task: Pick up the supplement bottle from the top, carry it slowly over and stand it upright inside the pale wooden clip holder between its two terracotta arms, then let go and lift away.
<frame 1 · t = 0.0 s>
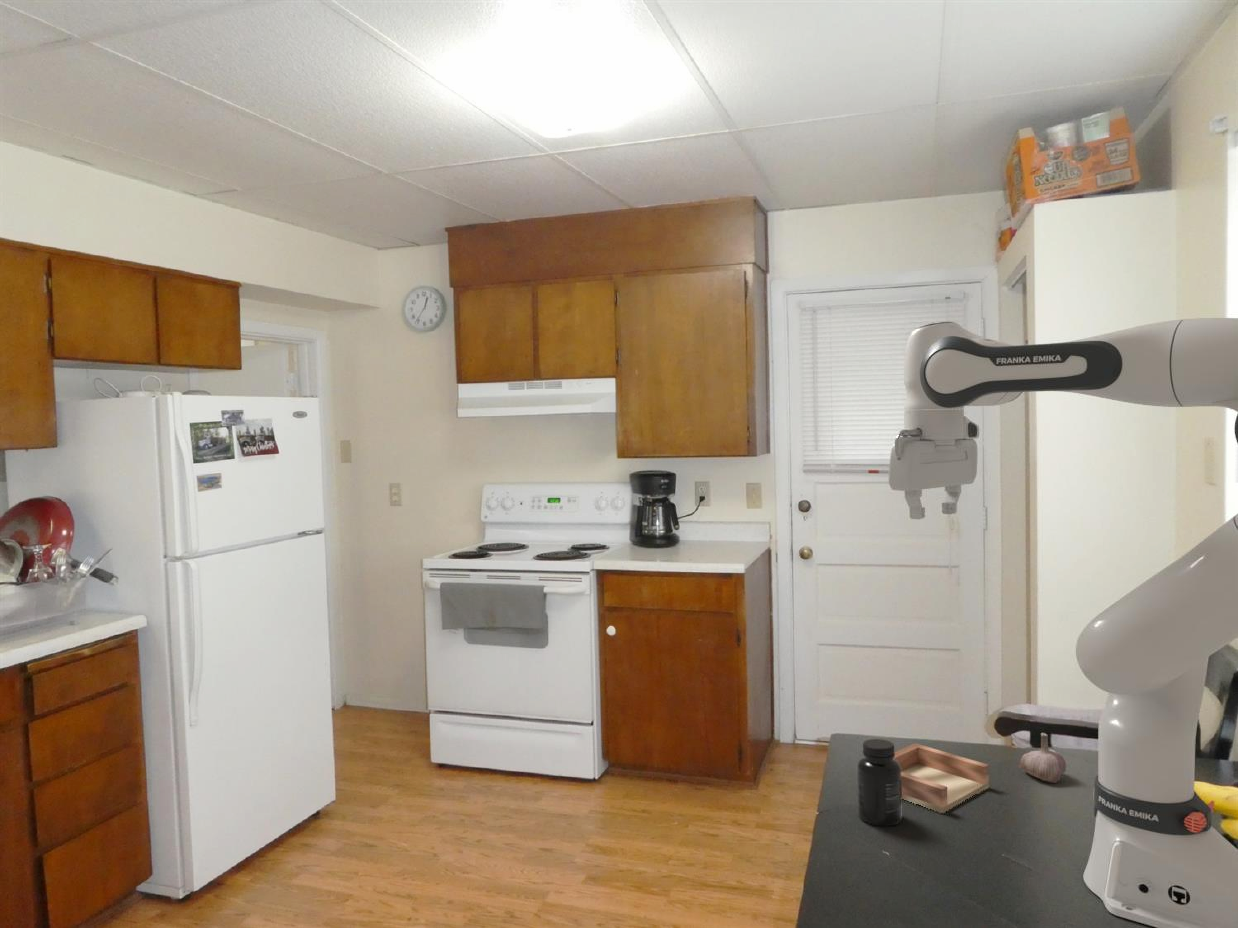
hand: (933, 516, 141), 48 cm above the table, tool pointing down, fingers open, 8 cm apart
clip holder: (927, 787, 154), on the table
supplement bottle: (879, 819, 142), on the table
garlic bulb: (1042, 778, 157), on the table
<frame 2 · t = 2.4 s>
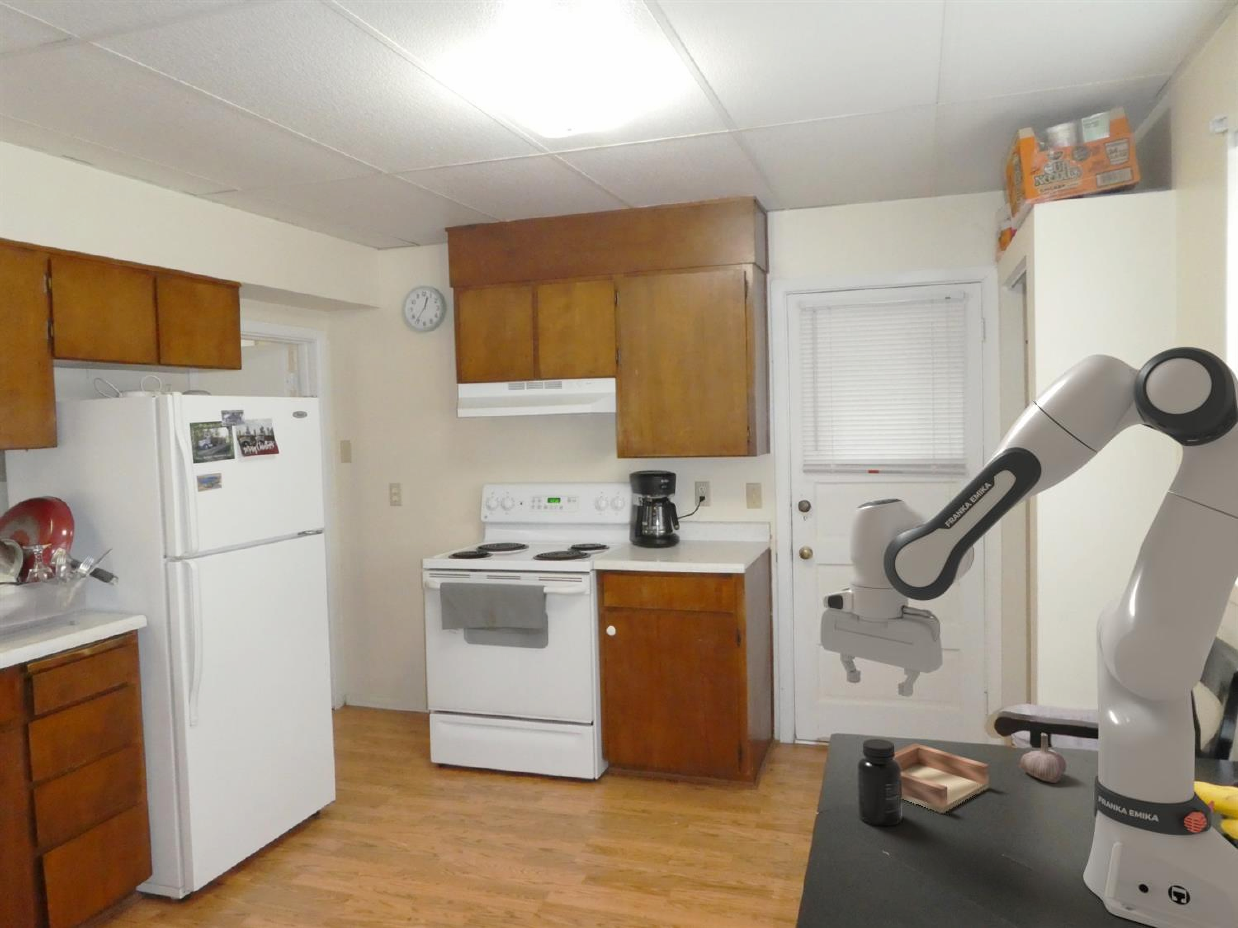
hand: (878, 688, 141), 21 cm above the table, tool pointing down, fingers open, 8 cm apart
nothing on the table moved.
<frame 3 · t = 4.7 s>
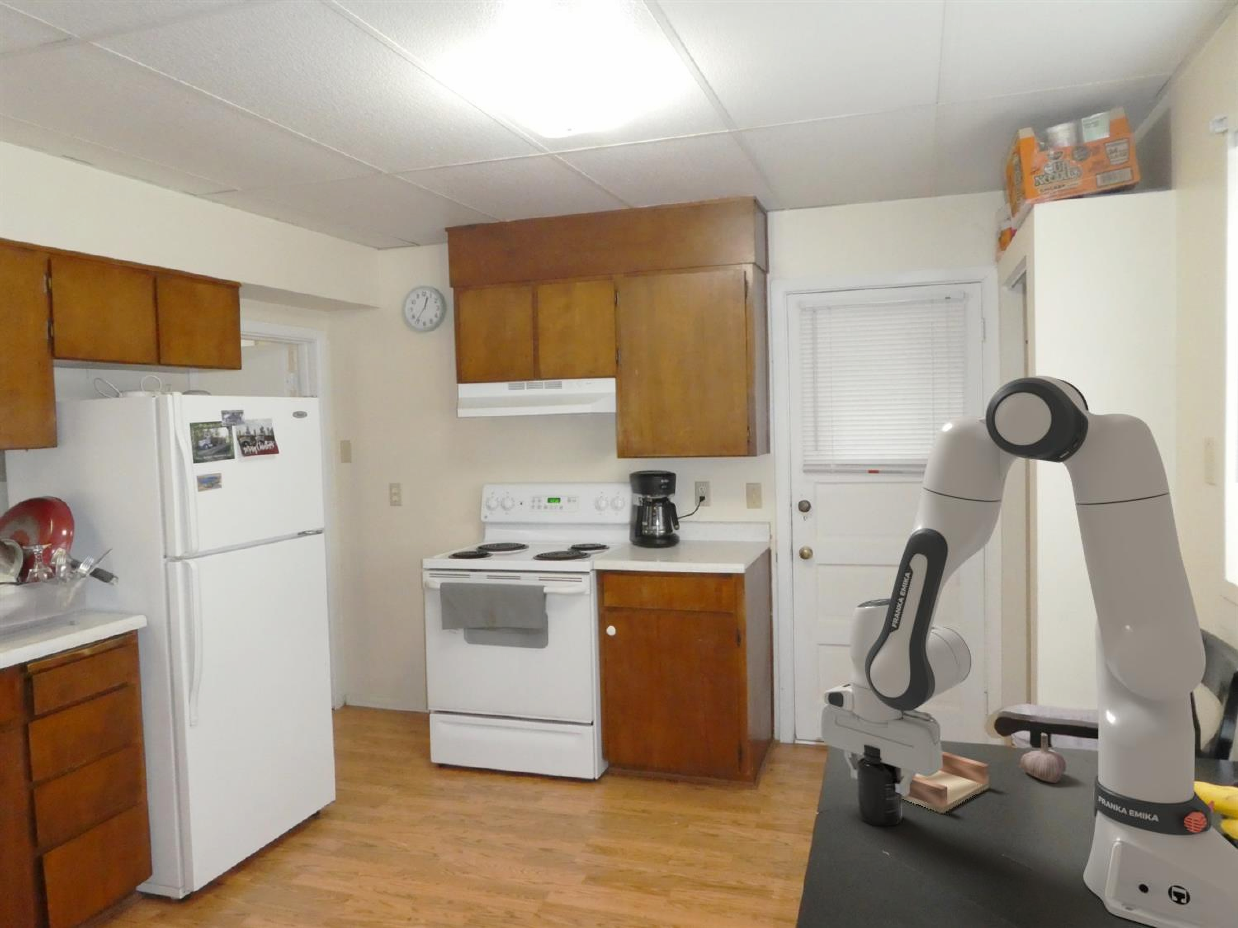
hand: (879, 786, 142), 5 cm above the table, tool pointing down, fingers closed on supplement bottle, 7 cm apart
supplement bottle: (879, 819, 142), on the table, touching gripper
everything else where it was.
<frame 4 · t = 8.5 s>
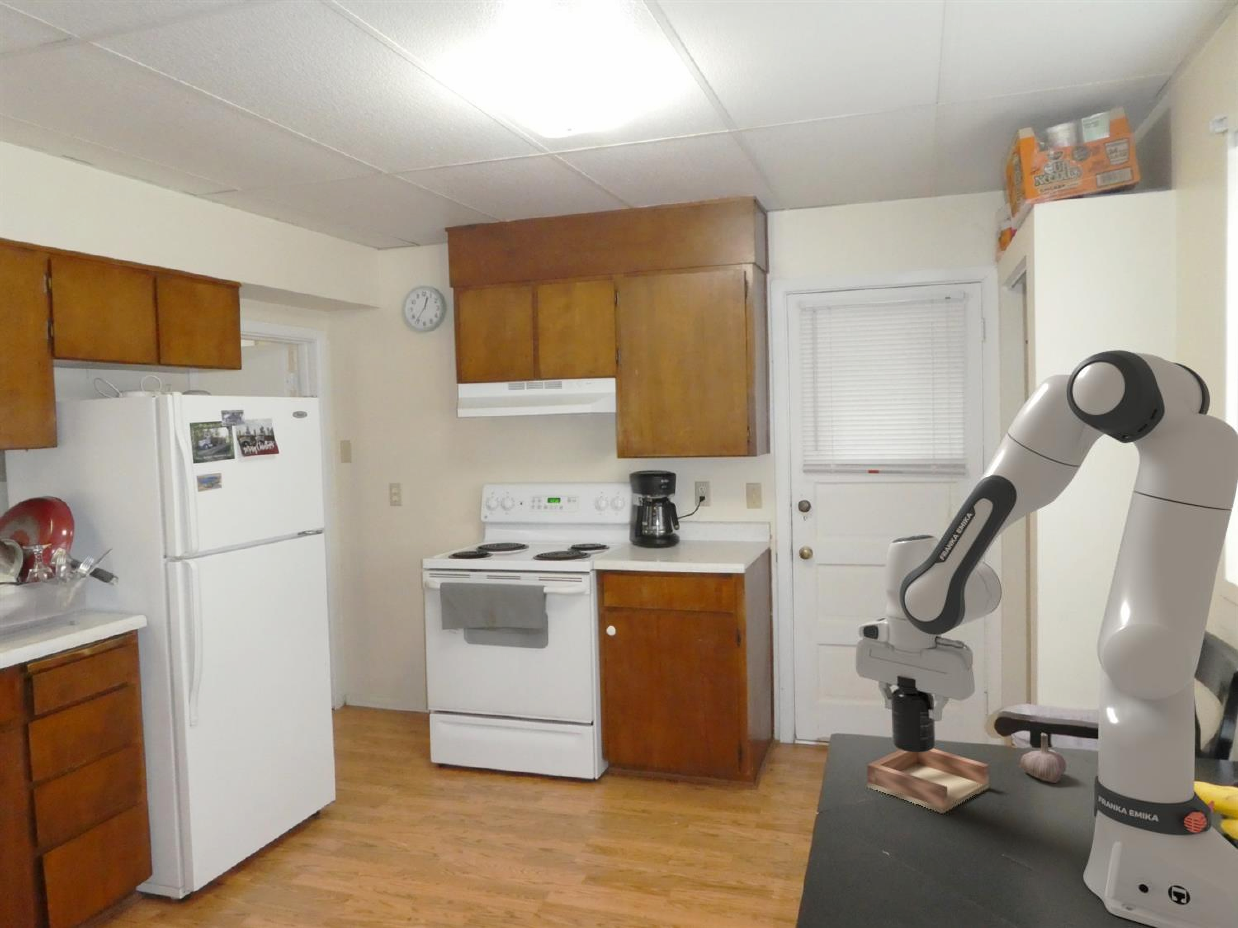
hand: (912, 714, 149), 14 cm above the table, tool pointing down, fingers closed on supplement bottle, 7 cm apart
supplement bottle: (913, 747, 150), point 8 cm above the table, touching gripper
everything else where it was.
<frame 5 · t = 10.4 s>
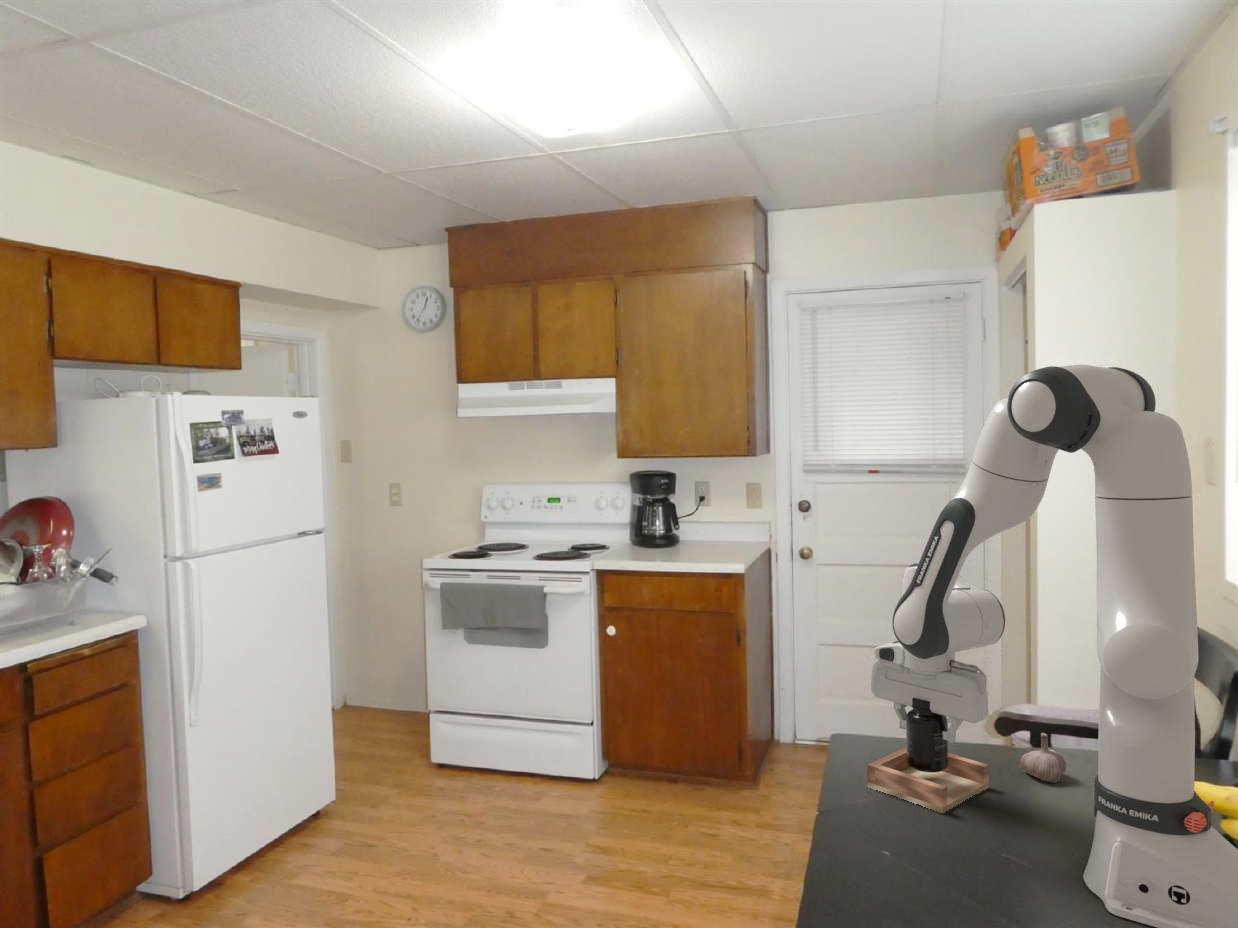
hand: (926, 734, 153), 9 cm above the table, tool pointing down, fingers closed on supplement bottle, 7 cm apart
supplement bottle: (927, 766, 153), point 4 cm above the table, touching gripper
everything else where it was.
when the fingers open (7 cm above the table, at t = 11.9 s): supplement bottle stays where it is, resting on clip holder.
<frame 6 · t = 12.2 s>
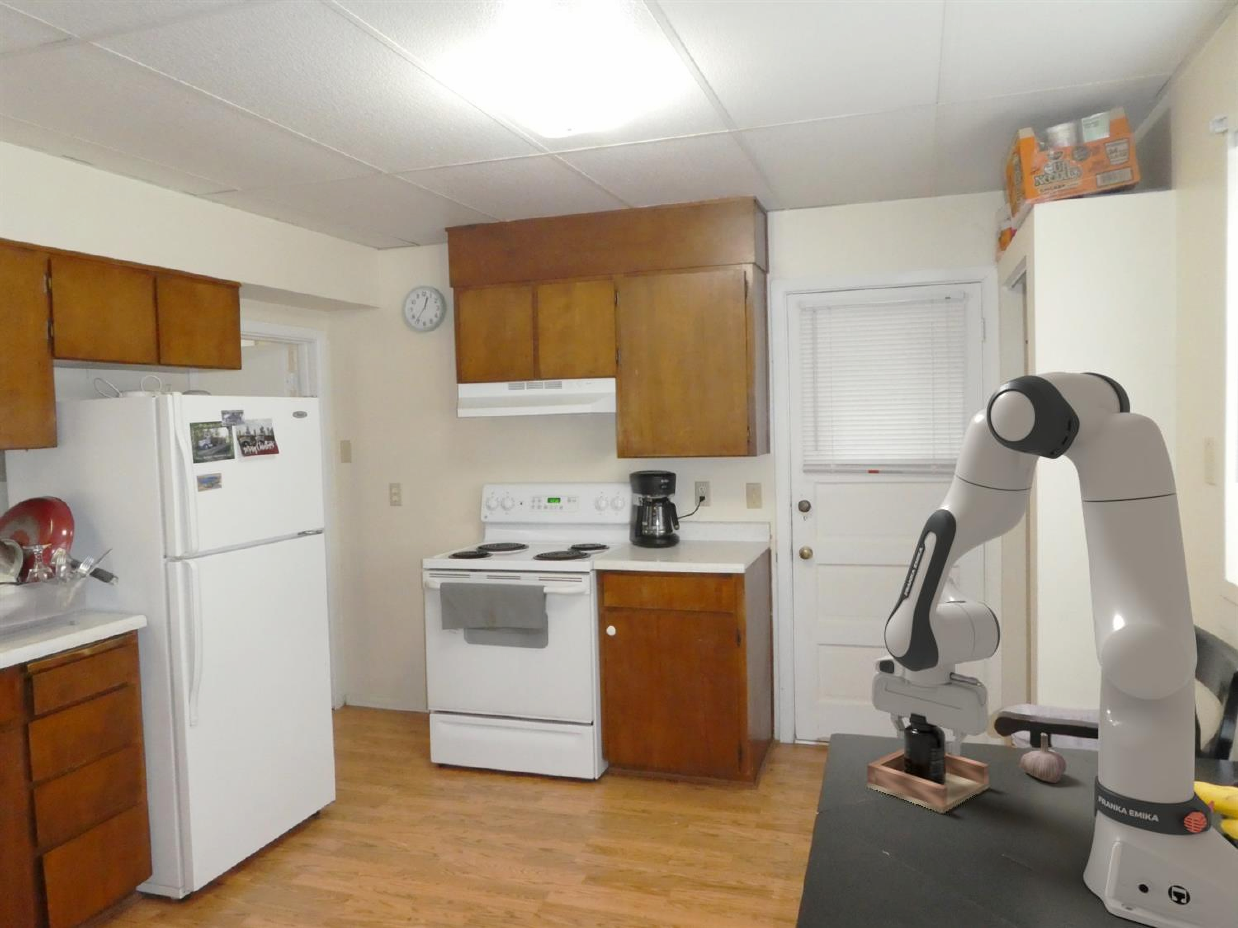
hand: (927, 747, 153), 7 cm above the table, tool pointing down, fingers open, 8 cm apart
supplement bottle: (924, 782, 154), point 1 cm above the table, touching clip holder, gripper
everything else where it was.
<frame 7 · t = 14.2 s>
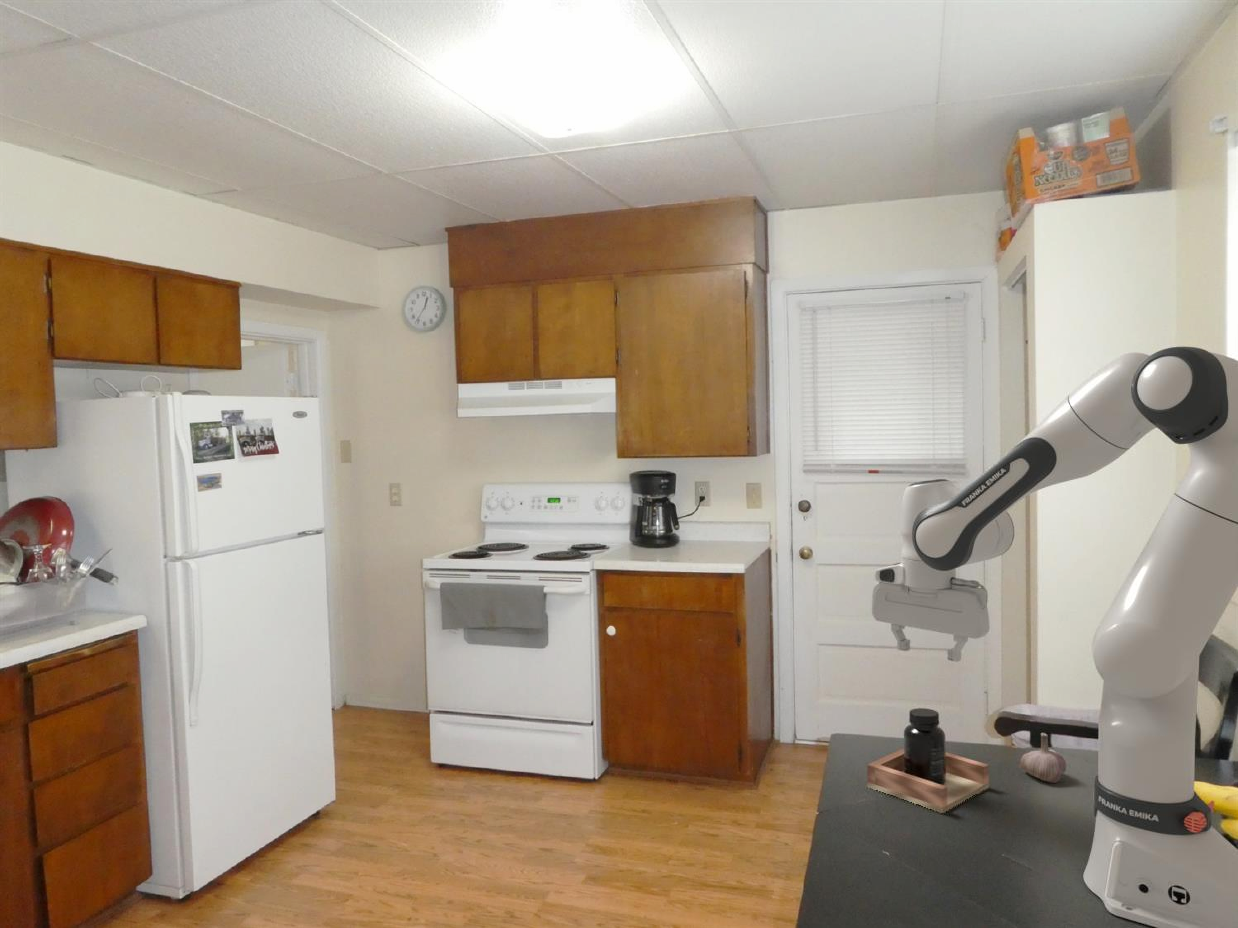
hand: (928, 655, 152), 23 cm above the table, tool pointing down, fingers open, 8 cm apart
supplement bottle: (924, 782, 154), point 1 cm above the table, touching clip holder
everything else where it was.
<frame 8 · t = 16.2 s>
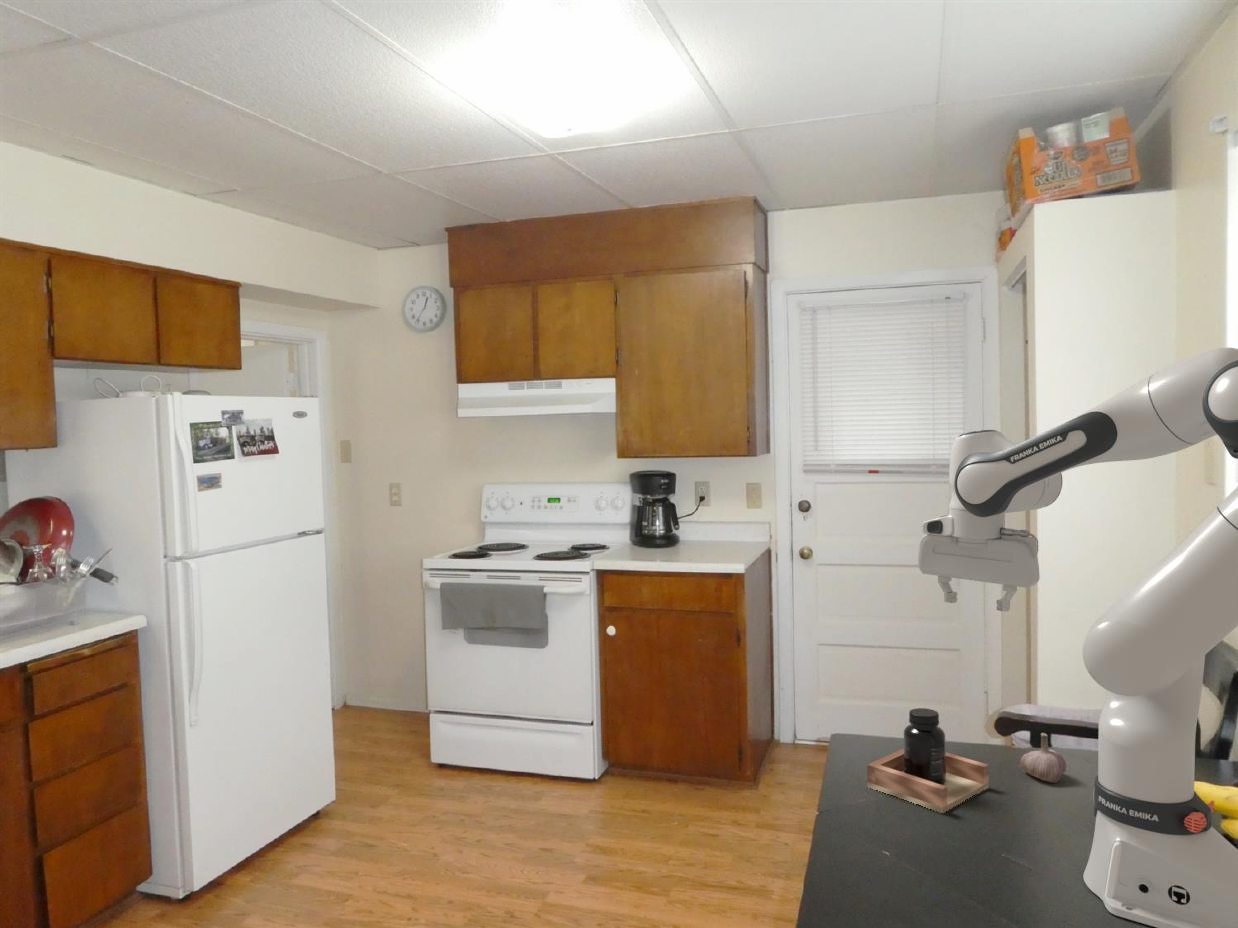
hand: (976, 606, 153), 31 cm above the table, tool pointing down, fingers open, 8 cm apart
nothing on the table moved.
at the end: supplement bottle 0.6 cm off-centre on the clip holder, point 0.8 cm above the clip holder's base; supplement bottle tilted 0°; the gripper is holding nothing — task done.
